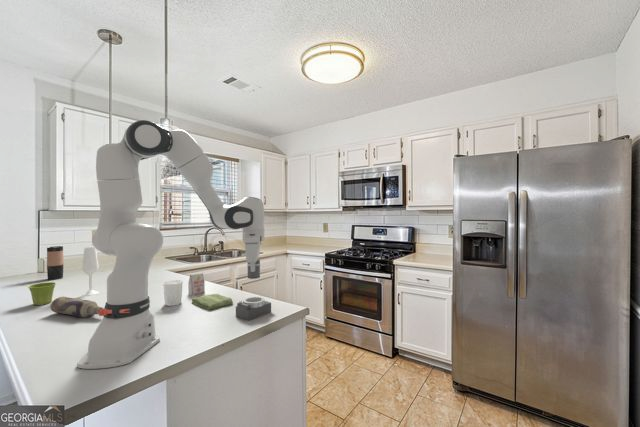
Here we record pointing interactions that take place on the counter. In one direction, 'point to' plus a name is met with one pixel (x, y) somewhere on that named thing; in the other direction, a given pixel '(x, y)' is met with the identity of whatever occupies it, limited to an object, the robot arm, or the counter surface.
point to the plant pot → (42, 293)
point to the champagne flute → (90, 266)
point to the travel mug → (55, 262)
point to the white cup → (172, 292)
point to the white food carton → (196, 284)
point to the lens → (257, 270)
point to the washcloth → (212, 301)
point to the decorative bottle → (75, 307)
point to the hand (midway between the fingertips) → (253, 269)
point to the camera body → (252, 308)
